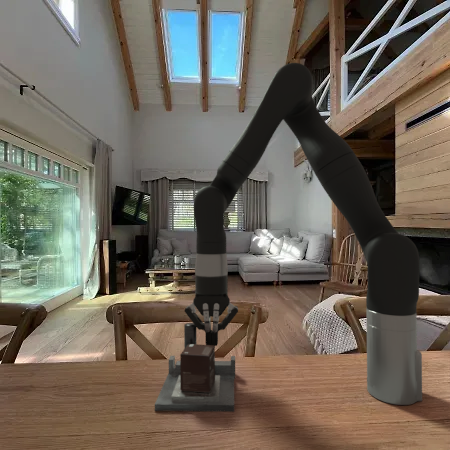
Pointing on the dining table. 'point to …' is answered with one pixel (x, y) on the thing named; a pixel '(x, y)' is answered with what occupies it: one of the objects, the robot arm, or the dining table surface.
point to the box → (197, 368)
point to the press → (198, 401)
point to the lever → (189, 334)
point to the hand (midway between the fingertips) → (211, 347)
